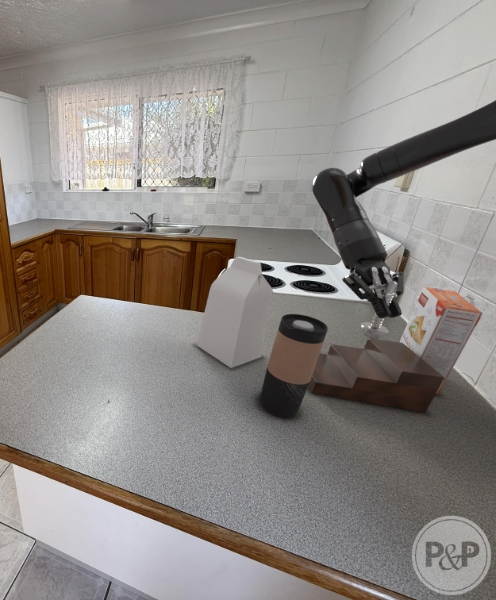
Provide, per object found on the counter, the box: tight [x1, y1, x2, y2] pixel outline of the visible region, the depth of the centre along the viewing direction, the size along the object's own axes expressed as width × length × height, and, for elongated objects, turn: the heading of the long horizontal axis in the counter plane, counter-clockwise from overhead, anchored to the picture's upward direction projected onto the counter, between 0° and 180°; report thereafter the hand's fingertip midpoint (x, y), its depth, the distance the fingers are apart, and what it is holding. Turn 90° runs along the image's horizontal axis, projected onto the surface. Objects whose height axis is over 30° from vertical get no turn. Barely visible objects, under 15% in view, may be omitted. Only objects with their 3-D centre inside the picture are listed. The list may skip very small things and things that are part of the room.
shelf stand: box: [308, 337, 445, 414], centre depth 72 cm, size 21×14×9 cm, turn 74°
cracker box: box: [399, 286, 484, 395], centre depth 73 cm, size 14×6×21 cm, turn 149°
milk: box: [196, 256, 274, 369], centre depth 81 cm, size 12×12×26 cm
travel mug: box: [259, 313, 329, 419], centre depth 62 cm, size 8×8×20 cm
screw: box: [359, 281, 397, 340], centre depth 66 cm, size 13×5×5 cm
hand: (390, 316), depth 65 cm, fingers closed on screw, 2 cm apart
